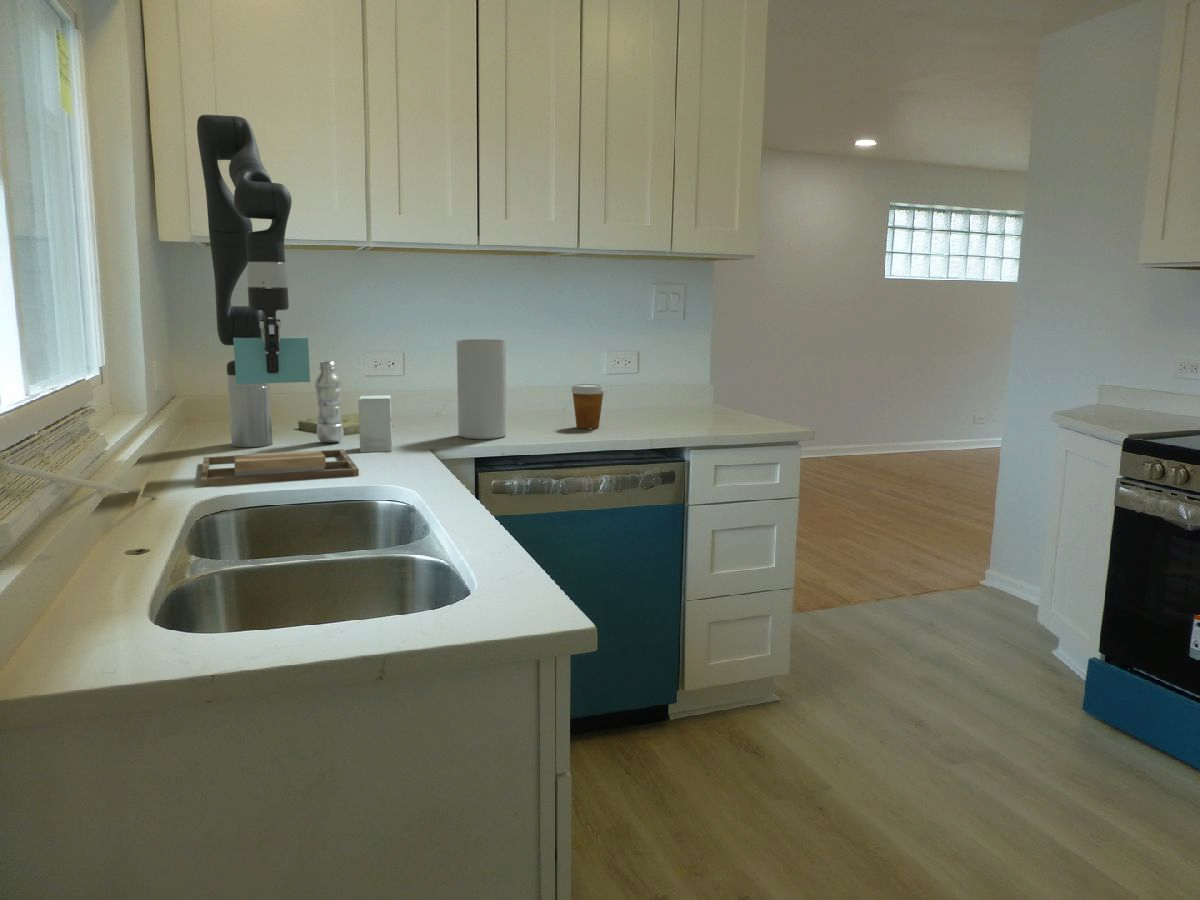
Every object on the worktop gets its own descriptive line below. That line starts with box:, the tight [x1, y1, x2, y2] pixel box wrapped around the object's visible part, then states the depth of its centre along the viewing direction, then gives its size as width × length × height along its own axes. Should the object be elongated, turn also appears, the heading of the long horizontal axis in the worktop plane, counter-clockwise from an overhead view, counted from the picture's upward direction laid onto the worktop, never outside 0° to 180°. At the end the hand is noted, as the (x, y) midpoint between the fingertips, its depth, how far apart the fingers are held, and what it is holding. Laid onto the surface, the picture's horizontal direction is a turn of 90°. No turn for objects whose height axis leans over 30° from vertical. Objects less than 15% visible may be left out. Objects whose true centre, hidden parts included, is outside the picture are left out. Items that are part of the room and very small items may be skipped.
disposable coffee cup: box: [570, 383, 606, 429], centre depth 241 cm, size 10×10×12 cm
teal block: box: [233, 336, 311, 384], centre depth 173 cm, size 2×14×9 cm, turn 114°
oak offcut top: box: [233, 450, 327, 472], centre depth 166 cm, size 7×16×2 cm, turn 115°
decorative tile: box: [297, 413, 393, 437], centre depth 236 cm, size 18×20×4 cm
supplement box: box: [357, 394, 393, 453], centre depth 202 cm, size 7×7×13 cm
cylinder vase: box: [456, 338, 507, 440], centre depth 223 cm, size 12×12×25 cm
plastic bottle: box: [314, 360, 344, 444], centre depth 211 cm, size 6×7×20 cm
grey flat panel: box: [233, 464, 325, 476], centre depth 166 cm, size 7×16×2 cm, turn 113°
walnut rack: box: [200, 448, 360, 488], centre depth 172 cm, size 24×28×2 cm
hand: (272, 372), depth 174 cm, fingers closed on teal block, 2 cm apart
